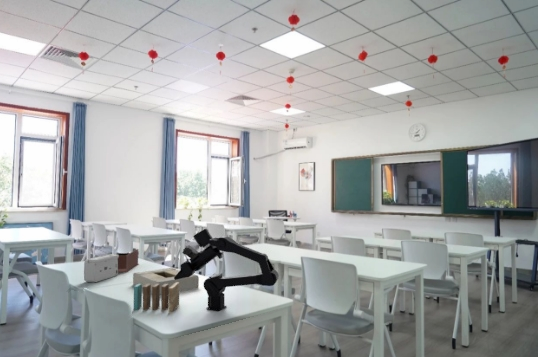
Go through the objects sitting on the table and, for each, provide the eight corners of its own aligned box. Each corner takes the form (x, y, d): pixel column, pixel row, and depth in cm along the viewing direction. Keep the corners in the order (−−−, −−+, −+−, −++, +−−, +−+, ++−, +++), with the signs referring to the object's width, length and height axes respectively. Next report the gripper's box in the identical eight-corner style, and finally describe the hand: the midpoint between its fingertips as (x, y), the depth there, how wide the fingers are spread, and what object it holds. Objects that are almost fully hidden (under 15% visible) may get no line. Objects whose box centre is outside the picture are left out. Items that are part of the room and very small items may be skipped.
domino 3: (159, 306, 161) (159, 283, 161) (155, 310, 156) (155, 286, 156) (155, 306, 161) (156, 283, 161) (152, 310, 156) (152, 286, 156)
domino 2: (150, 306, 161) (150, 283, 161) (146, 310, 156) (146, 286, 156) (146, 306, 161) (147, 283, 161) (142, 310, 156) (143, 286, 156)
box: (199, 289, 194) (171, 278, 217) (199, 274, 194) (171, 265, 218) (158, 298, 178) (132, 286, 202) (158, 282, 178) (132, 272, 202)
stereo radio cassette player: (108, 275, 228) (108, 242, 229) (119, 275, 226) (120, 243, 227) (83, 282, 208) (83, 247, 209) (95, 283, 206) (95, 247, 207)
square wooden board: (179, 304, 163) (179, 282, 164) (172, 312, 153) (172, 288, 153) (175, 304, 163) (175, 282, 164) (168, 312, 153) (168, 288, 153)
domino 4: (168, 306, 161) (168, 283, 161) (165, 310, 156) (165, 286, 156) (164, 306, 161) (165, 283, 161) (161, 310, 156) (161, 286, 156)
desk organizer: (110, 273, 234) (110, 255, 234) (124, 264, 263) (124, 249, 263) (127, 273, 235) (127, 255, 235) (139, 264, 264) (139, 248, 264)
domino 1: (141, 306, 161) (141, 283, 161) (137, 310, 156) (137, 286, 156) (138, 306, 161) (138, 283, 161) (133, 310, 156) (133, 286, 156)
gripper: (202, 238, 170) (176, 257, 171) (188, 243, 151) (159, 265, 152) (215, 257, 168) (189, 277, 170) (203, 266, 150) (174, 287, 151)
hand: (178, 276), depth 161 cm, fingers open, 9 cm apart
